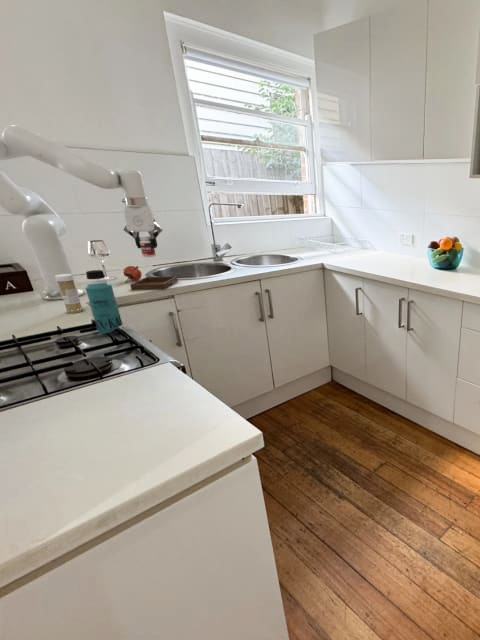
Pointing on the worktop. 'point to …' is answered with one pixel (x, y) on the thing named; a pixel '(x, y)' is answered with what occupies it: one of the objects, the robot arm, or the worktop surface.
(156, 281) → the tray
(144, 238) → the pill bottle
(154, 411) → the worktop surface
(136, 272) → the pomegranate
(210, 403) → the worktop surface
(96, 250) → the wineglass
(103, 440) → the worktop surface
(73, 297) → the sprinkles bottle
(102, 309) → the beverage bottle
